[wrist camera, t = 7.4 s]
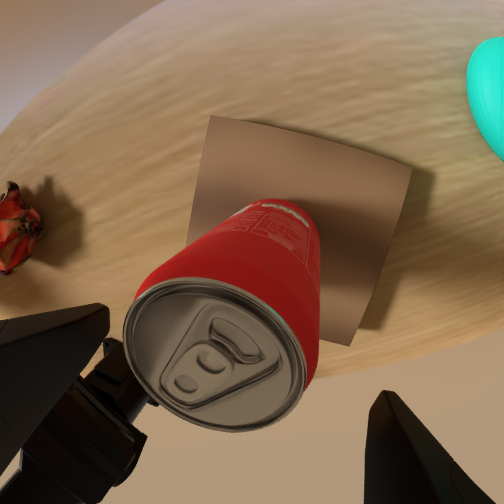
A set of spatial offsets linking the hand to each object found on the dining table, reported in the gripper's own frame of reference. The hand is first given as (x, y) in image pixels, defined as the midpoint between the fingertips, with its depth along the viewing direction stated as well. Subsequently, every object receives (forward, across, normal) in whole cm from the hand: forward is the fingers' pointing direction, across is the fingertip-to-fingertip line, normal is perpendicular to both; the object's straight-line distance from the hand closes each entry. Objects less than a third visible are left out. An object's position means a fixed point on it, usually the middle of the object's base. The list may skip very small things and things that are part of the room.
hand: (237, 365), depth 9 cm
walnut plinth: (+13, 0, -1) cm, 13 cm away
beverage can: (+11, 0, -1) cm, 11 cm away
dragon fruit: (+13, +26, +4) cm, 29 cm away
